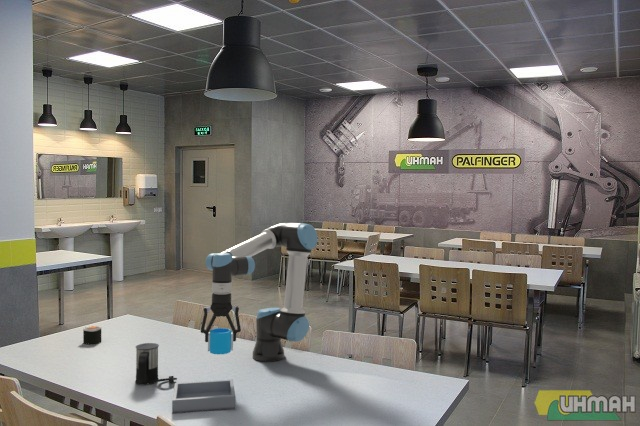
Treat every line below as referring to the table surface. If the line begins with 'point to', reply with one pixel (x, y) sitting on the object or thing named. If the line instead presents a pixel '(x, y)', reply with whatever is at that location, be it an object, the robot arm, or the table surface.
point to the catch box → (203, 396)
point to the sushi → (92, 335)
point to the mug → (220, 341)
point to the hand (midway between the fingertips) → (220, 349)
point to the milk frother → (148, 364)
